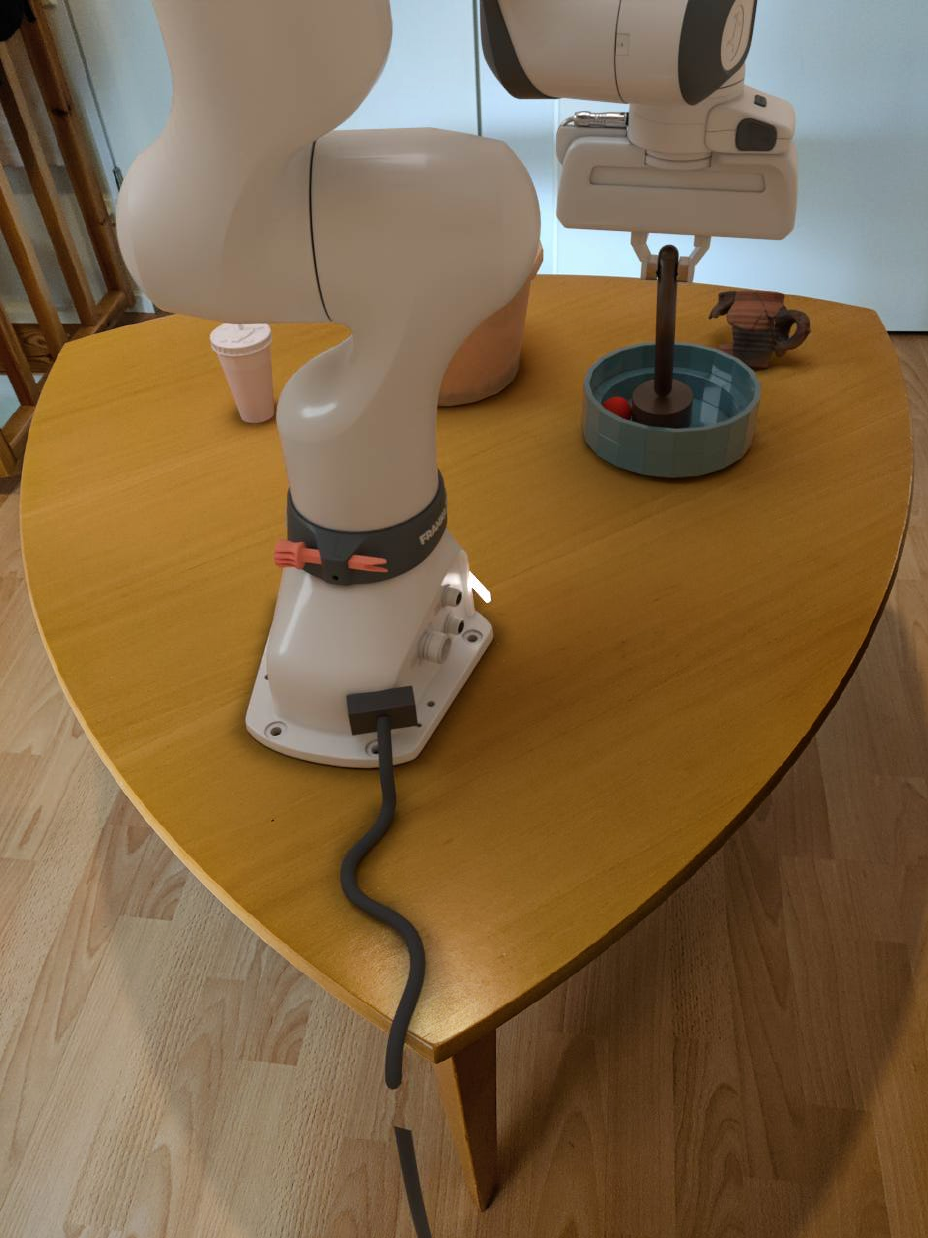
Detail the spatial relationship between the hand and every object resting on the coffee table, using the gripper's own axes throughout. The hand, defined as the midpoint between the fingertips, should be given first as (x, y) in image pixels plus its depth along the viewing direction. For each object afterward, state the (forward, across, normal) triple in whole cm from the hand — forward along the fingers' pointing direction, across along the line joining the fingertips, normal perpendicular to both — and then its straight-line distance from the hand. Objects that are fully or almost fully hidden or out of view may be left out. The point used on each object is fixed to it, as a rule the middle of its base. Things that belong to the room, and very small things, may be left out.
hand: (667, 278), depth 90 cm
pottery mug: (+18, +9, +21) cm, 29 cm away
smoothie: (+18, -43, -2) cm, 46 cm away
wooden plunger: (+16, +1, +2) cm, 16 cm away
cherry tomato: (+15, -4, +1) cm, 16 cm away
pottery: (+18, -25, +11) cm, 32 cm away
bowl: (+18, +1, +2) cm, 18 cm away
